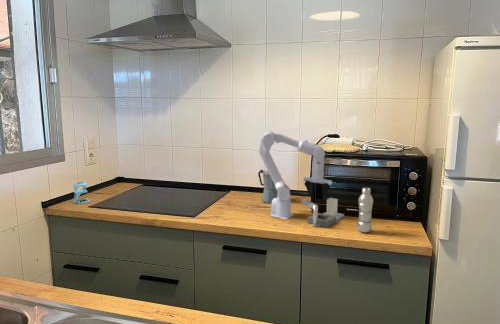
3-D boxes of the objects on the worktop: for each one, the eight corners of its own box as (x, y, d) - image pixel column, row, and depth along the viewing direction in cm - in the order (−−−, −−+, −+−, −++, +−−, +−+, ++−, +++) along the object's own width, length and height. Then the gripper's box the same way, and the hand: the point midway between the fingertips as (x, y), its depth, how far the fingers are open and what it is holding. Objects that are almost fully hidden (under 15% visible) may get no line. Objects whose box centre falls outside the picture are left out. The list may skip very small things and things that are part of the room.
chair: (72, 202, 220) (70, 182, 218) (87, 199, 225) (85, 180, 223) (74, 205, 214) (72, 184, 212) (90, 202, 219) (88, 182, 216)
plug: (326, 215, 190) (326, 199, 188) (329, 213, 193) (330, 197, 192) (333, 216, 187) (334, 200, 186) (337, 214, 191) (337, 199, 189)
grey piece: (318, 226, 176) (318, 205, 174) (314, 227, 175) (314, 205, 173) (305, 218, 188) (305, 198, 186) (301, 219, 187) (301, 198, 186)
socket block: (307, 223, 181) (307, 217, 181) (317, 218, 189) (317, 212, 188) (326, 228, 175) (326, 221, 175) (336, 222, 183) (336, 216, 182)
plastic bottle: (357, 233, 168) (359, 189, 164) (356, 228, 174) (357, 186, 171) (372, 234, 167) (375, 190, 163) (370, 229, 173) (372, 186, 170)
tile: (319, 218, 190) (319, 215, 190) (327, 213, 197) (327, 210, 197) (336, 221, 184) (336, 218, 184) (343, 216, 191) (344, 214, 191)
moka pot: (276, 205, 213) (277, 170, 209) (253, 201, 221) (253, 167, 217) (284, 201, 221) (284, 167, 217) (261, 197, 229) (261, 165, 225)
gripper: (300, 170, 188) (300, 196, 190) (328, 173, 180) (327, 201, 182) (307, 168, 194) (306, 193, 196) (334, 171, 186) (333, 197, 188)
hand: (317, 197), depth 190 cm, fingers open, 7 cm apart
